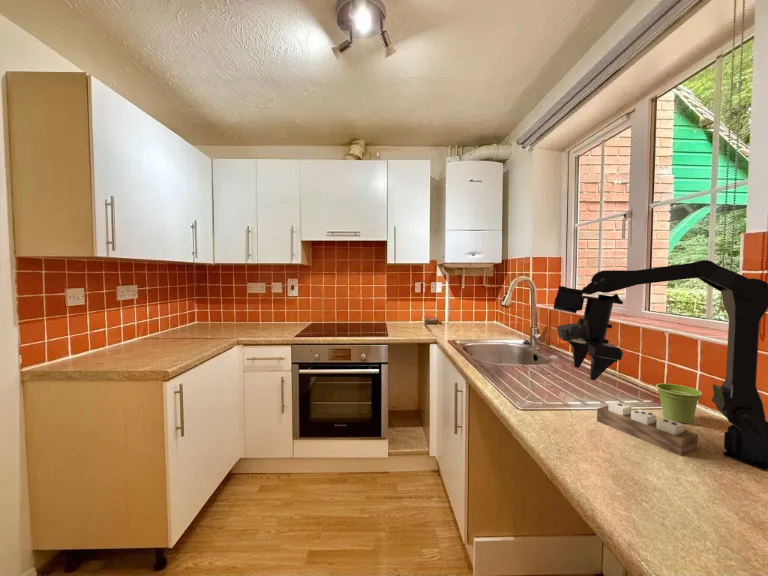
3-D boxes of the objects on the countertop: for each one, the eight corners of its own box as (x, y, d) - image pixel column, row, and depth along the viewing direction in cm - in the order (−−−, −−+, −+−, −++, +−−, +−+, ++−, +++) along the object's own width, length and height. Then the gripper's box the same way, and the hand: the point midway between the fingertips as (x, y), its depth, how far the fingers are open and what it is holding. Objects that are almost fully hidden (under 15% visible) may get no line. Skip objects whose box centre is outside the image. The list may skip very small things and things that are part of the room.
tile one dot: (630, 415, 83) (631, 405, 83) (622, 417, 82) (622, 408, 82) (616, 410, 86) (616, 400, 86) (608, 412, 85) (608, 402, 85)
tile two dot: (683, 434, 73) (683, 423, 73) (674, 437, 72) (675, 426, 71) (664, 427, 76) (664, 417, 76) (656, 430, 75) (656, 419, 75)
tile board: (697, 448, 72) (697, 434, 72) (681, 455, 69) (681, 440, 69) (612, 416, 89) (613, 404, 89) (596, 420, 86) (597, 408, 86)
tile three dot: (655, 424, 78) (655, 414, 78) (647, 426, 77) (647, 416, 77) (639, 418, 81) (639, 408, 81) (630, 420, 80) (631, 410, 80)
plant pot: (690, 430, 81) (691, 397, 81) (648, 415, 90) (648, 385, 89) (708, 423, 85) (709, 392, 85) (665, 409, 93) (666, 381, 93)
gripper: (551, 307, 92) (541, 357, 94) (580, 319, 74) (566, 380, 76) (591, 313, 91) (580, 363, 93) (630, 327, 72) (616, 389, 74)
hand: (584, 373), depth 84 cm, fingers open, 9 cm apart
